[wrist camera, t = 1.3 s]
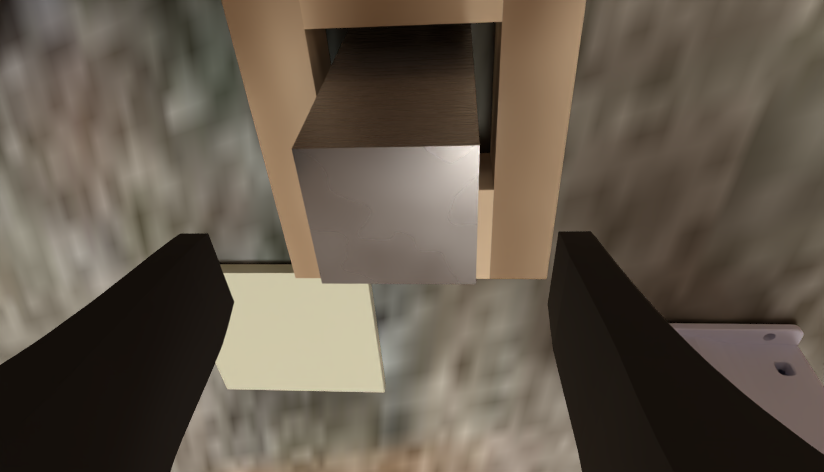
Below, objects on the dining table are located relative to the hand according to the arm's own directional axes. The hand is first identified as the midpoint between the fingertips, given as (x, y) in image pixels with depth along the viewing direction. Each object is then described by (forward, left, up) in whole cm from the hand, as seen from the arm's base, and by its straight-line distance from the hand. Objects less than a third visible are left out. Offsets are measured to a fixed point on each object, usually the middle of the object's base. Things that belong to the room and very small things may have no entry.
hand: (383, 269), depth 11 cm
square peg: (0, 0, -10) cm, 10 cm away
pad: (+7, +13, -10) cm, 18 cm away
